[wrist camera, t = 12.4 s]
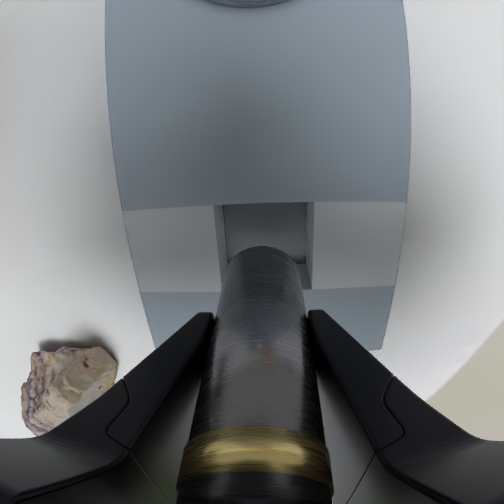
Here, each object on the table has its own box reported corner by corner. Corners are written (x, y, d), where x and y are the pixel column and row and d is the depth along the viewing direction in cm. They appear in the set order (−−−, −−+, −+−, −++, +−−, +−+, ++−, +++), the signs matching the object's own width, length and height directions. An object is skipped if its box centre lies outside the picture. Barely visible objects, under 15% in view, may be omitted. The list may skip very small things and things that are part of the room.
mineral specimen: (37, 298, 19) (-12, 353, 13) (123, 341, 20) (88, 411, 14) (45, 394, 24) (19, 440, 18) (109, 426, 25) (89, 477, 19)
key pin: (227, 312, 12) (191, 529, 4) (219, 246, 11) (151, 484, 3) (300, 311, 12) (324, 530, 4) (301, 243, 10) (350, 488, 3)
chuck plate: (168, 326, 19) (157, 353, 16) (135, -98, 8) (119, -117, 5) (369, 321, 18) (381, 349, 16) (356, -111, 7) (366, -133, 5)
